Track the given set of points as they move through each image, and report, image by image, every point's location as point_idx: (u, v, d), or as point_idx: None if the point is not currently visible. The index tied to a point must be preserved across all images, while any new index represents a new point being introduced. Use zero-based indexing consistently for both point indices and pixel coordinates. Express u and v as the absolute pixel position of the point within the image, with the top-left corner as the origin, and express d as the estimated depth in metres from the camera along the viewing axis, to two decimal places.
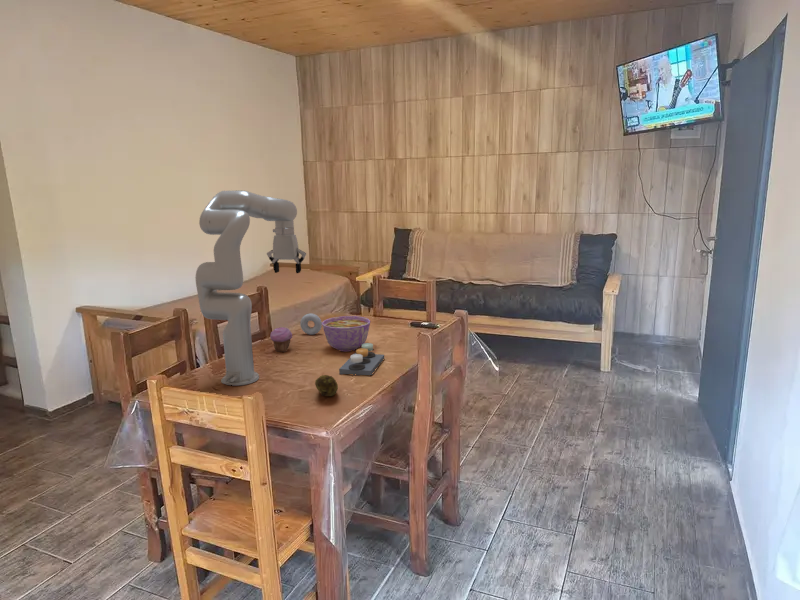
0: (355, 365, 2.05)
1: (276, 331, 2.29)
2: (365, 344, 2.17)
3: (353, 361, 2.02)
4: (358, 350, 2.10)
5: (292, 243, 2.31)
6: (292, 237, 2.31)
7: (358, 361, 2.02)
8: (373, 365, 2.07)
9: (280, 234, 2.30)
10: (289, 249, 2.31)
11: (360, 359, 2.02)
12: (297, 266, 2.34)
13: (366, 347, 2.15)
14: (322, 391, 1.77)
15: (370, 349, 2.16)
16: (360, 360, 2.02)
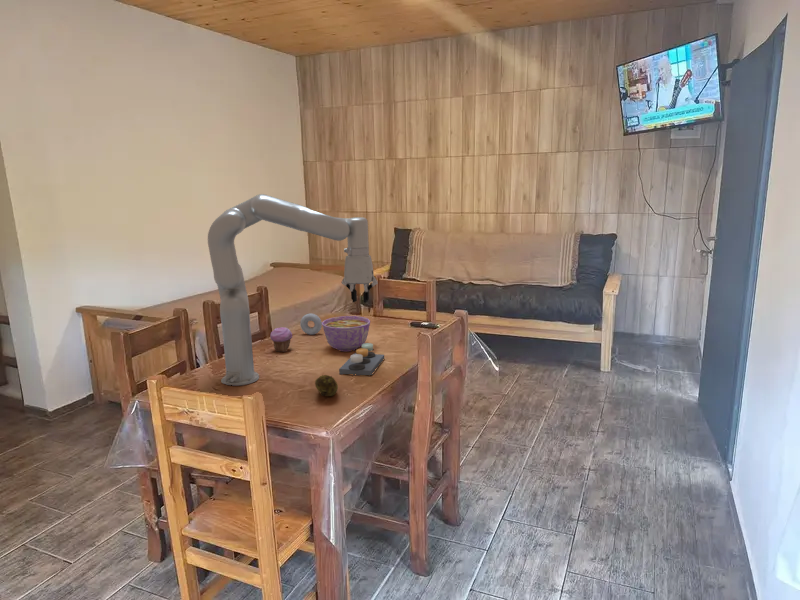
0: (355, 365, 2.05)
1: (276, 331, 2.29)
2: (365, 344, 2.17)
3: (353, 361, 2.02)
4: (358, 350, 2.10)
5: (367, 266, 2.00)
6: (367, 258, 2.00)
7: (358, 361, 2.02)
8: (373, 365, 2.07)
9: (354, 255, 1.99)
10: (364, 272, 2.01)
11: (360, 359, 2.02)
12: (365, 294, 2.04)
13: (366, 347, 2.15)
14: (322, 391, 1.77)
15: (370, 349, 2.16)
16: (360, 360, 2.02)
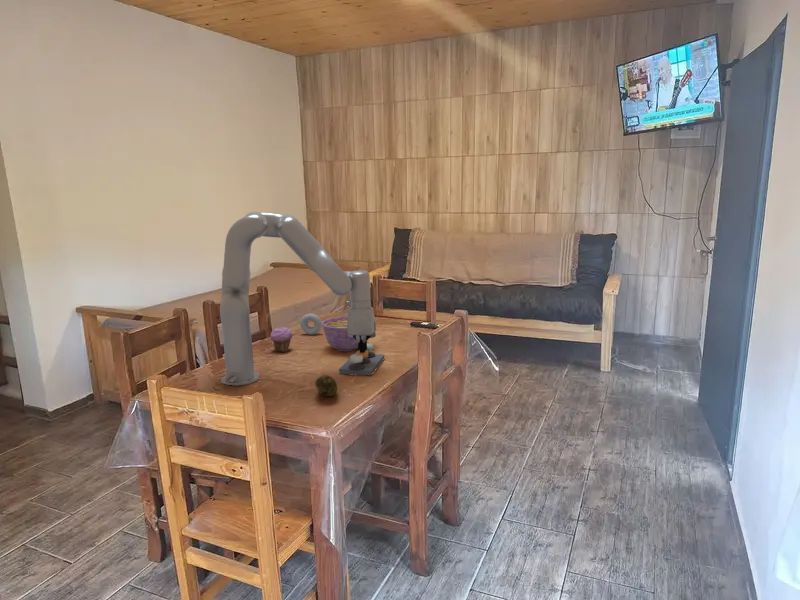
0: (355, 365, 2.05)
1: (276, 331, 2.29)
2: None
3: (353, 361, 2.02)
4: (358, 352, 2.10)
5: (369, 318, 2.04)
6: (370, 311, 2.04)
7: (358, 361, 2.02)
8: (373, 365, 2.07)
9: (356, 308, 2.03)
10: (366, 324, 2.05)
11: (360, 359, 2.02)
12: (363, 345, 2.09)
13: None
14: (322, 391, 1.77)
15: (370, 349, 2.16)
16: (360, 360, 2.02)
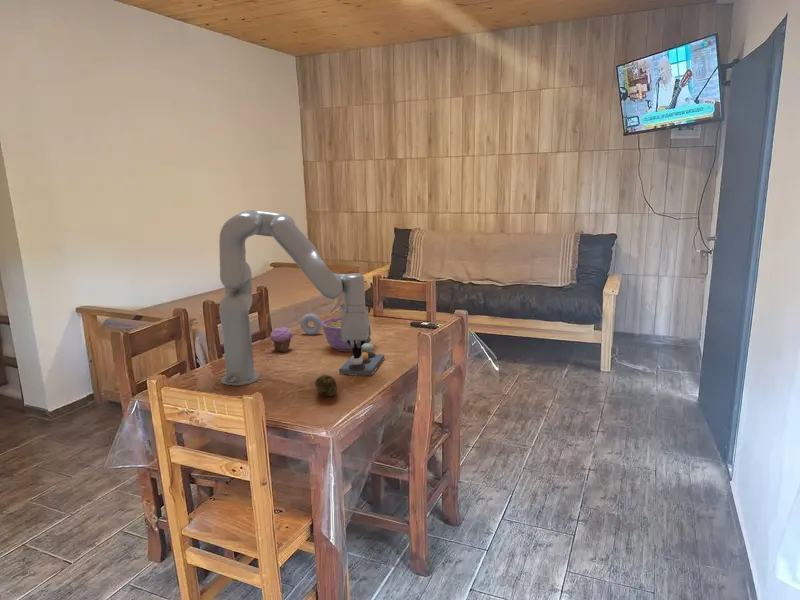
0: (355, 365, 2.05)
1: (276, 331, 2.29)
2: (365, 344, 2.17)
3: (353, 363, 2.02)
4: None
5: (364, 323, 1.98)
6: (364, 315, 1.98)
7: (358, 363, 2.02)
8: (373, 365, 2.07)
9: (350, 312, 1.97)
10: (361, 329, 1.98)
11: (360, 361, 2.03)
12: (358, 350, 2.02)
13: (366, 347, 2.15)
14: (322, 391, 1.77)
15: (370, 349, 2.16)
16: (360, 362, 2.03)
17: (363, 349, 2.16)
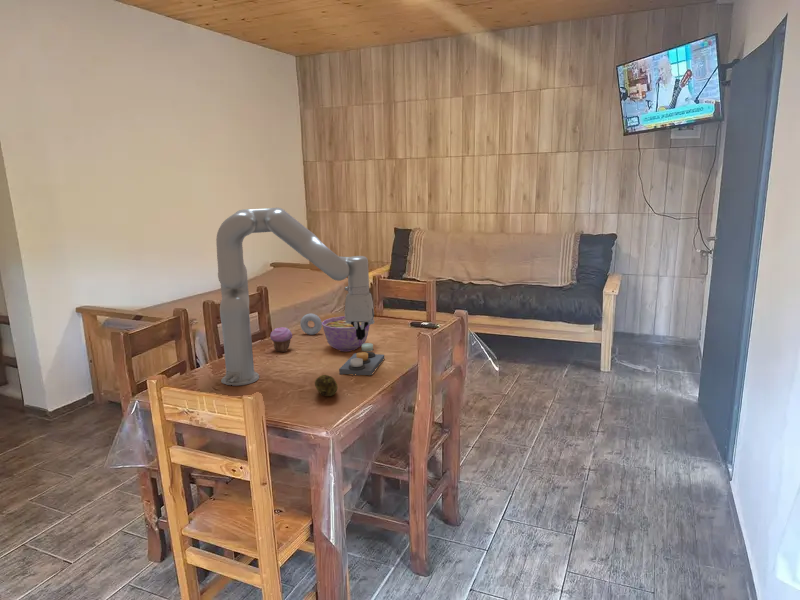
0: None
1: (276, 331, 2.29)
2: (365, 344, 2.17)
3: (353, 365, 2.02)
4: (358, 354, 2.10)
5: (367, 304, 2.02)
6: (368, 297, 2.01)
7: (358, 365, 2.02)
8: (373, 365, 2.07)
9: (354, 294, 2.01)
10: (364, 310, 2.02)
11: (360, 363, 2.03)
12: (361, 332, 2.06)
13: (366, 347, 2.15)
14: (321, 391, 1.77)
15: (370, 349, 2.16)
16: (360, 364, 2.03)
17: (363, 349, 2.16)
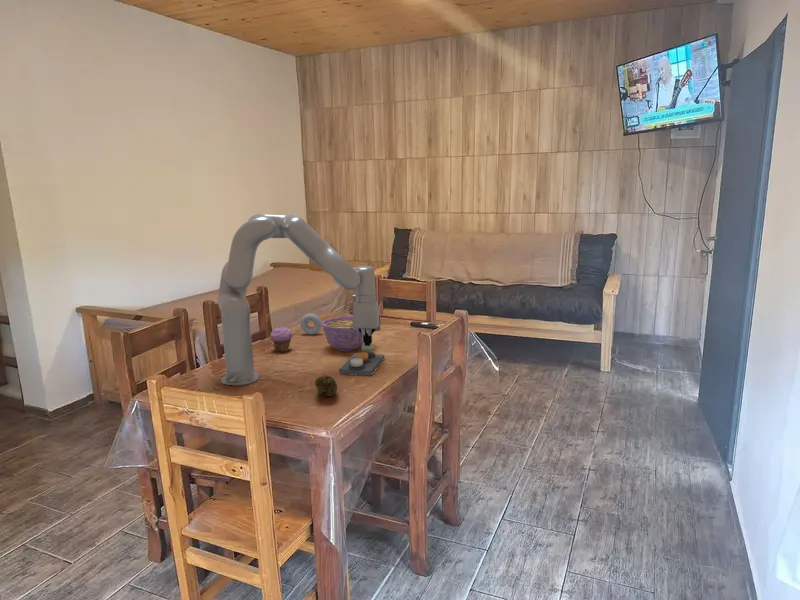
0: None
1: (276, 331, 2.29)
2: None
3: (353, 365, 2.02)
4: (358, 354, 2.10)
5: (374, 312, 2.11)
6: (375, 305, 2.11)
7: (358, 365, 2.02)
8: (373, 365, 2.07)
9: (362, 302, 2.10)
10: (371, 318, 2.11)
11: (360, 363, 2.03)
12: (368, 338, 2.15)
13: (366, 347, 2.15)
14: (321, 391, 1.77)
15: (370, 349, 2.16)
16: (360, 364, 2.03)
17: (363, 349, 2.16)
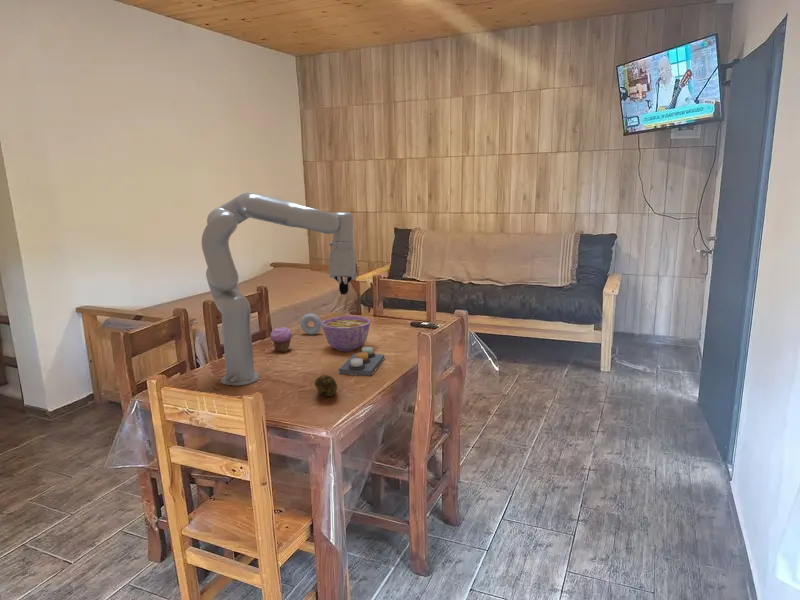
0: None
1: (276, 331, 2.29)
2: (365, 348, 2.18)
3: (353, 365, 2.02)
4: (358, 354, 2.10)
5: (351, 259, 2.07)
6: (351, 252, 2.07)
7: (358, 365, 2.02)
8: (373, 365, 2.07)
9: (338, 248, 2.06)
10: (347, 265, 2.08)
11: (360, 363, 2.03)
12: (344, 287, 2.12)
13: (366, 351, 2.15)
14: (321, 391, 1.77)
15: (370, 353, 2.16)
16: (360, 364, 2.03)
17: None
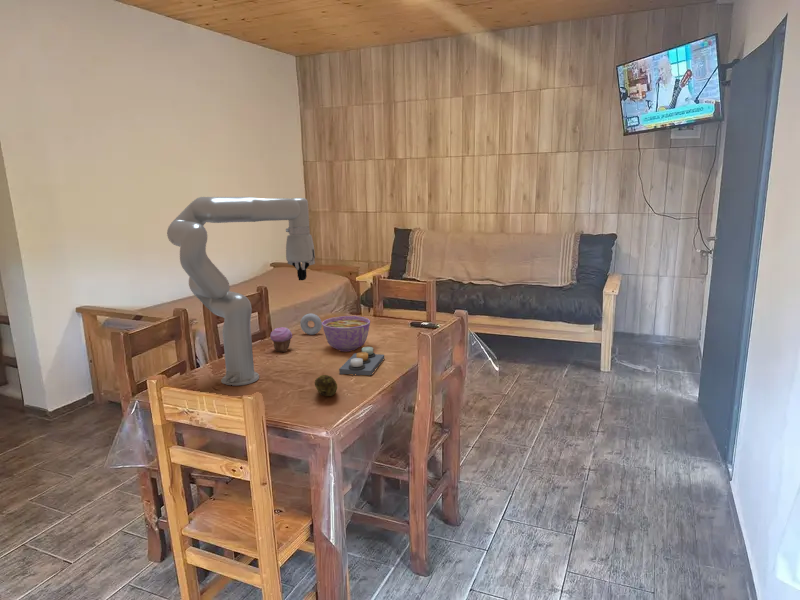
0: None
1: (276, 331, 2.29)
2: (365, 348, 2.18)
3: (353, 365, 2.02)
4: (358, 354, 2.10)
5: (307, 244, 2.08)
6: (307, 237, 2.08)
7: (358, 365, 2.02)
8: (373, 365, 2.07)
9: (294, 234, 2.07)
10: (304, 251, 2.08)
11: (360, 363, 2.03)
12: (302, 272, 2.12)
13: (366, 351, 2.15)
14: (321, 391, 1.77)
15: (370, 353, 2.16)
16: (360, 364, 2.03)
17: None
